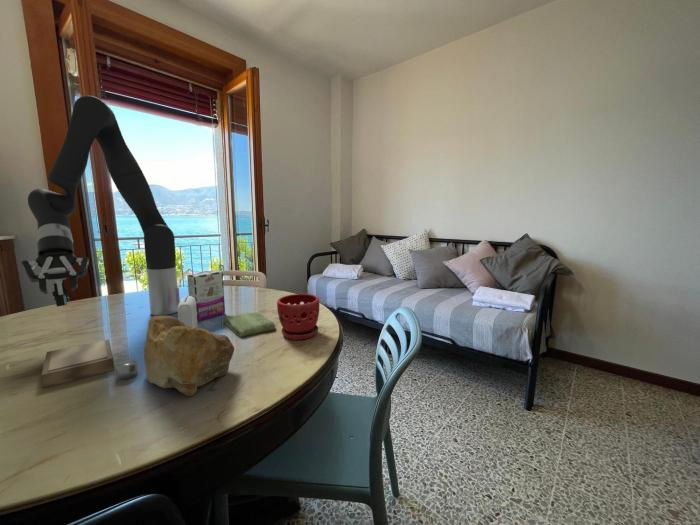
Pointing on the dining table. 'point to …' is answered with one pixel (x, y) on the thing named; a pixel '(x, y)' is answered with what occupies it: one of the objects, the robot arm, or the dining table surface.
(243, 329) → the washcloth
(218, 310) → the candy bar box
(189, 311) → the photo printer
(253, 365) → the dining table surface
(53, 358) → the tray
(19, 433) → the dining table surface
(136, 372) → the cylinder
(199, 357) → the rough brown rock
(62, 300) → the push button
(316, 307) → the plant pot
